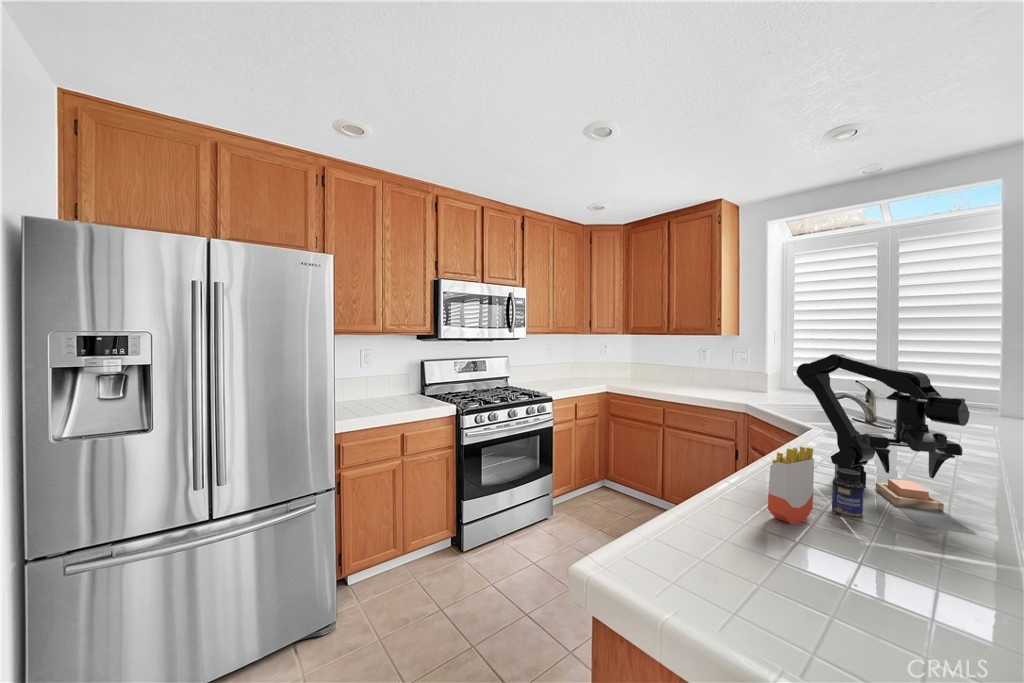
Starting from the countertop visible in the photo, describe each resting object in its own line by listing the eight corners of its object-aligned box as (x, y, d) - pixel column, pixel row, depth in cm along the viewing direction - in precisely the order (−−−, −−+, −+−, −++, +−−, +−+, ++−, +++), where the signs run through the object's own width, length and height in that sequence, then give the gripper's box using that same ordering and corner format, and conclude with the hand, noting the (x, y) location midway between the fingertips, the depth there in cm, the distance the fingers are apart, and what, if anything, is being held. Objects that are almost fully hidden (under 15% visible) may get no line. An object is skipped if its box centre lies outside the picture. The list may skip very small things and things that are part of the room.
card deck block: (887, 490, 115) (888, 478, 115) (913, 494, 113) (913, 481, 113) (900, 501, 108) (901, 488, 107) (928, 505, 105) (928, 491, 105)
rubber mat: (918, 528, 95) (918, 525, 95) (873, 490, 118) (873, 488, 118) (977, 537, 91) (977, 534, 91) (918, 496, 114) (918, 494, 114)
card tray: (895, 505, 106) (895, 497, 106) (875, 489, 117) (875, 482, 117) (943, 512, 103) (943, 503, 103) (918, 494, 114) (918, 487, 114)
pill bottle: (834, 516, 101) (835, 472, 101) (828, 507, 106) (830, 465, 106) (866, 522, 98) (867, 477, 98) (859, 512, 103) (860, 469, 103)
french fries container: (765, 518, 99) (767, 445, 99) (793, 510, 104) (795, 441, 103) (785, 526, 95) (787, 450, 95) (812, 518, 100) (814, 446, 99)
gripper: (879, 420, 106) (878, 479, 106) (977, 427, 98) (975, 491, 99) (862, 413, 116) (861, 467, 116) (950, 419, 109) (948, 476, 109)
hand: (909, 475), depth 110 cm, fingers open, 9 cm apart
